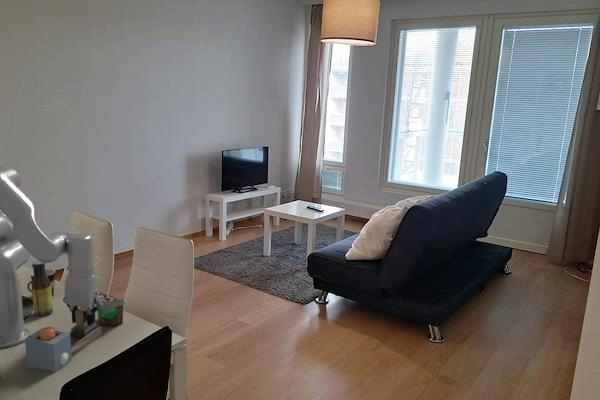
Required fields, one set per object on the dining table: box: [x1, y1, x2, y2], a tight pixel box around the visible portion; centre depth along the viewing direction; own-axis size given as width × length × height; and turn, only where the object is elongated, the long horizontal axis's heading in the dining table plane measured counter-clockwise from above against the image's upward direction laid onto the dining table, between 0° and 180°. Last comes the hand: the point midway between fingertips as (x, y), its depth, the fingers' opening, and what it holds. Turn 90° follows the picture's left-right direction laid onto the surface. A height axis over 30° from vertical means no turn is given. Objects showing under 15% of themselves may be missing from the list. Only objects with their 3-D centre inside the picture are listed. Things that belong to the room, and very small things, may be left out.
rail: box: [68, 325, 103, 358], centre depth 158 cm, size 8×17×3 cm, turn 166°
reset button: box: [39, 326, 56, 341], centre depth 146 cm, size 4×4×4 cm
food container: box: [95, 290, 126, 328], centre depth 172 cm, size 12×6×10 cm, turn 62°
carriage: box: [70, 307, 97, 338], centre depth 161 cm, size 5×6×9 cm
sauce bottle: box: [30, 260, 54, 317], centre depth 177 cm, size 7×6×20 cm
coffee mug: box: [26, 268, 56, 298], centre depth 191 cm, size 12×9×10 cm
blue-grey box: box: [24, 327, 73, 373], centre depth 146 cm, size 10×7×9 cm
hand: (83, 322), depth 161 cm, fingers open, 5 cm apart
